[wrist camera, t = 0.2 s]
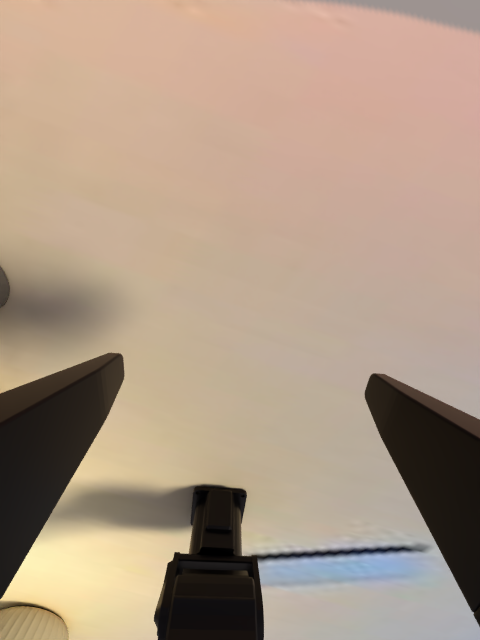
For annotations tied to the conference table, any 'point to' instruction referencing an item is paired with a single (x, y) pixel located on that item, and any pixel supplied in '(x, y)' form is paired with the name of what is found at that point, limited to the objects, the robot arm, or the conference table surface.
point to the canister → (31, 624)
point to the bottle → (3, 288)
